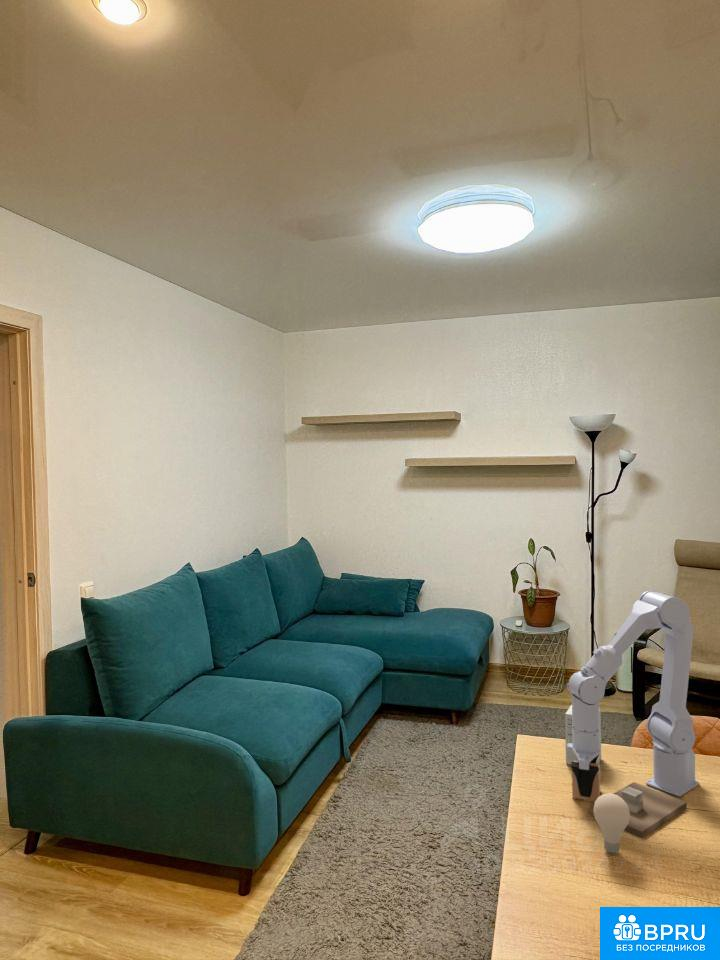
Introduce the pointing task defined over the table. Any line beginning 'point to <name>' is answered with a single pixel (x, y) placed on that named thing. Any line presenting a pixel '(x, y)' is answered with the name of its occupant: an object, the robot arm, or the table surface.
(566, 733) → the supplement box
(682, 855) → the table surface
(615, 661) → the robot arm
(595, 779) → the duct sleeve
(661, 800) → the duct board
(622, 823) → the light bulb
